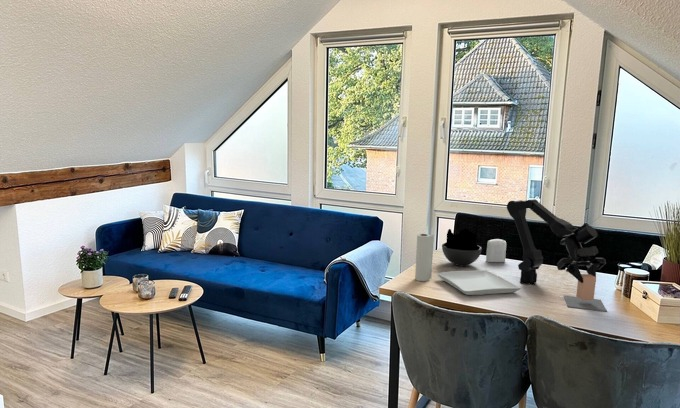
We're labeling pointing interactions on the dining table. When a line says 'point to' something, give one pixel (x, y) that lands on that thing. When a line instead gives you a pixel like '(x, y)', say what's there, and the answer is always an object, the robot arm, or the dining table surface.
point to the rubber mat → (584, 303)
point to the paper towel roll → (424, 257)
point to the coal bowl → (461, 247)
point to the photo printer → (496, 250)
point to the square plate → (478, 282)
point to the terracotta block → (586, 287)
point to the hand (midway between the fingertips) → (588, 282)
